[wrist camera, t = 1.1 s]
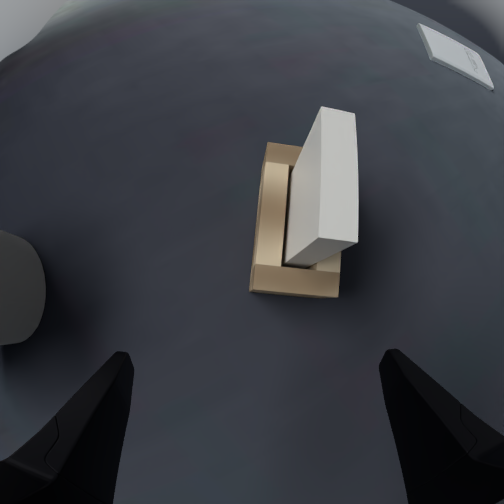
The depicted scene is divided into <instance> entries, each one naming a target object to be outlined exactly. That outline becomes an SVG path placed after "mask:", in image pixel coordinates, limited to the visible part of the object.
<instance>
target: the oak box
mask: <svg viewBox="0 0 504 504" xmlns="http://www.w3.org/2000/svg"><path fill="white" fill-rule="evenodd" d="M302 149H303V147H298V146H291V145H284V144H277V143H270V142H268V143H267V148H266V152H265V157H264V162H263V166H262V172H261V182H260V191H259V201H258V210H257V220H256V230H255V239H254V249H253V258H252V268H251V278H250V287H249V292H256V293H266V294H276V295H286V296H297V297H308V298H333V297H338V293H339V279H340V263H341V251H340V252H338V253H336V254H334V255H332V256H330V257H328V258H325V259H323V260H321V261H319V262H317V263H315V264H313V265H311V266H309V267H307V268H305V269H299V268H290V267H281V259H282V248H283V236H284V224H285V211H286V198H287V184H288V180H289V178H290V175H291V173H292V171H293V169H294V167H295V164H296V162H297V160H298V158H299V155H300V153H301V151H302Z"/></svg>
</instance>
